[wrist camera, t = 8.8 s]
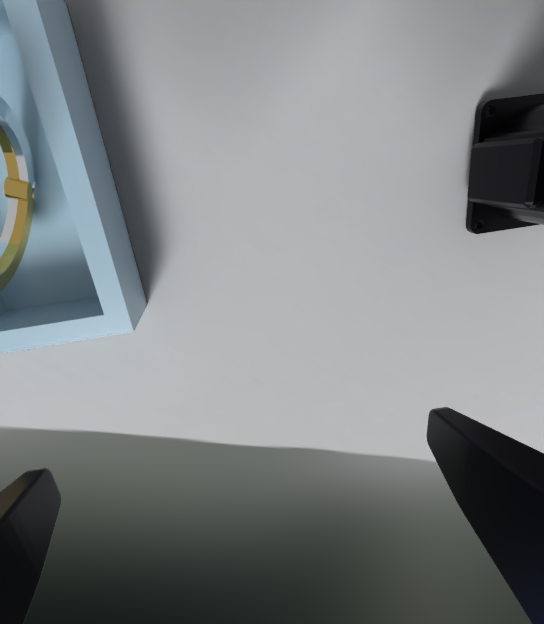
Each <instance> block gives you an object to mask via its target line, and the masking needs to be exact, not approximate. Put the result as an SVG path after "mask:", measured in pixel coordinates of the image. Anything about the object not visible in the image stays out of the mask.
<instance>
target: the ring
mask: <svg viewBox="0 0 544 624" xmlns="http://www.w3.org/2000/svg"><path fill="white" fill-rule="evenodd" d="M0 146H1V148H2V151H3V154H4V157H5V161H6V165H7V171H8V177H6V179H5V183H4V193H5V196H6V197H8V198H9V199H8V210H7V216H6V221H5V225H4V229H3V232H2V235H1V237H0V291H2V290H3V289H4V288H5V287H6V285H7V284H8V283H9V282H10V280H11V279H12V277H13V276H14V274H15V272H16V270H17V268H18V266H19V264H20V262H21V260H22V257H23V255H24V252H25V249H26V246H27V242H28V238H29V234H30V230H31V224H32V218H33V210H34V201H36V200H37V197H38V184H37V182H35V176H34V167H33V160H32V155H31V151H30V147H29V143H28V140H27V137H26V135H25V132H24V130H23V128H22V125H21V123H20V122H19V120H18V118H17V116H16V115H15V113H14V112H13V110H12V109H11V107H10V106H9V105H8V104H7V103H6V102H5V100H4V99H3V98H2V97H0Z"/></svg>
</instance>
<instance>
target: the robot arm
mask: <svg viewBox="0 0 544 624" xmlns="http://www.w3.org/2000/svg"><path fill="white" fill-rule="evenodd" d="M487 108H489V109H490V114H489V116H488V117H487V115H486V110H487ZM477 221H479V224H478V226H477V227H476V228H475V223H476V222H477ZM539 224H543V225H544V94H537V95H528V96H520V97H511V98H503V99H495V100H489V101H485V102H483V103H481V104H480V105H479V107H478V108H477V111H476V117H475V129H474V140H473V148H472V153H471V164H470V176H469V187H468V209H467V220H466V228H467V230H468V231H469V232H471V233H475V234H480V233H487V232H493V231H500V230H506V229H513V228H519V227H526V226H532V225H539ZM427 442H428V445H429V447H430V449H431V451H432V453H433V455H434V457H435V459H436V461H437V463H438V465H439V467H440V469H441V471H442V473H443V475H444V477H445V479H446V481H447V483H448V485H449V487H450V489H451V491H452V493H453V495H454V497H455V499H456V501H457V503H458V505H459V506H460V508H461V510H462V511H463V513H464V515H465V517H466V518H467V520H468V521H469V523H470V524H471V526H472V528H473V529H474V531H475V533H476V534H477V536H478V537H479V539H480V541H481V542H482V544H483V545H484V547H485V548H486V550H487V552H488V553H489V555H490V557H491V558H492V560H493V561H494V563H495V565H496V566H497V568H498V569H499V571H500V573H501V574H502V576H503V578H504V579H505V581H506V582H507V584H508V585H509V587H510V589H511V590H512V592H513V593H514V595H515V597H516V598H517V600H518V602H519V603H520V605H521V606H522V608H523V609H524V611H525V613H526V615H527V616H528V618H529V619H530V621H531V623H532V624H544V453H542V452H540V451H537V450H535V449H533V448H531V447H529V446H527V445H525V444H523V443H521V442H519V441H517V440H515V439H513V438H511V437H508V436H506V435H504V434H502V433H500V432H498V431H496V430H494V429H492V428H490V427H488V426H486V425H484V424H482V423H479V422H477V421H475V420H473V419H471V418H469V417H467V416H465V415H463V414H461V413H459V412H457V411H455V410H453V409H450V408H448V407H443V408H436V409H432V410H431V411H430V412H429V418H428V427H427ZM60 504H61V495H60V491H59V489H58V487H57V484H56V482H55V479H54V477H53V475H52V473H51V471H50V470H49V469H48V468H40V469H33V470H29V471H27V472H25V473H24V474H22V475H21V476H20V477H19V478H17V479H16V480H15V481H14V482H12V483H11V484H10V485H8V486H7V487H6V488H5V489H3V490H2V491H1V492H0V624H23V623H24V621H25V618H26V615H27V613H28V610H29V607H30V604H31V602H32V599H33V597H34V594H35V591H36V588H37V586H38V583H39V580H40V577H41V574H42V570H43V567H44V563H45V560H46V556H47V552H48V548H49V545H50V541H51V538H52V534H53V530H54V526H55V523H56V519H57V515H58V512H59V508H60Z"/></svg>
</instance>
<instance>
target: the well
mask: <svg viewBox="0 0 544 624" xmlns="http://www.w3.org/2000/svg"><path fill="white" fill-rule="evenodd" d="M0 97H2V98H3V99H4V100H5V102H6V103H7V104H8V105H9V106H10V107H11V109H12V110H13V112H14V113H15V115H16V116H17V118H18V120H19V122H20V123H21V125H22V128H23V130H24V132H25V135H26V137H27V140H28V143H29V147H30V151H31V155H32V160H33V167H34V176H35V182H37V184H38V197H37V200H36V201H34V210H33V218H32V224H31V230H30V234H29V238H28V242H27V246H26V249H25V252H24V255H23V257H22V260H21V262H20V264H19V266H18V268H17V270H16V272H15V274H14V276H13V277H12V279H11V280H10V282H9V283H8V284H7V285H6V287H5V288H4V289H3V290H2V291H0V354H2V353H8V352H14V351H20V350H26V349H32V348H38V347H44V346H50V345H56V344H62V343H68V342H75V341H81V340H87V339H93V338H99V337H105V336H111V335H117V334H123V333H129V332H134V330H135V328H136V326H137V324H138V322H139V320H140V318H141V316H142V314H143V312H144V310H145V308H146V306H147V302H146V298H145V294H144V291H143V287H142V283H141V279H140V276H139V272H138V268H137V265H136V261H135V257H134V253H133V250H132V246H131V242H130V239H129V235H128V231H127V228H126V224H125V220H124V216H123V213H122V209H121V205H120V202H119V198H118V194H117V190H116V187H115V183H114V179H113V176H112V172H111V168H110V165H109V161H108V157H107V153H106V150H105V146H104V142H103V139H102V135H101V131H100V128H99V124H98V120H97V116H96V113H95V109H94V105H93V102H92V98H91V94H90V90H89V87H88V83H87V79H86V76H85V72H84V68H83V65H82V61H81V57H80V53H79V50H78V46H77V42H76V39H75V35H74V31H73V27H72V24H71V20H70V16H69V13H68V9H67V5H66V3H65V2H64V1H63V0H0ZM6 177H8V171H7V165H6V161H5V157H4V154H3V151H2V148H1V146H0V237H1V235H2V232H3V229H4V225H5V221H6V216H7V210H8V199H9V198H8V197H6V196H5V193H4V183H5V179H6Z"/></svg>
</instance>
